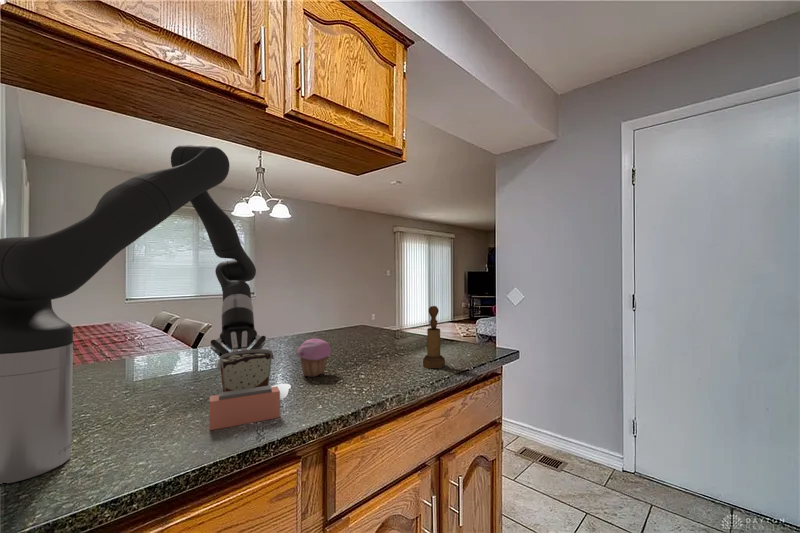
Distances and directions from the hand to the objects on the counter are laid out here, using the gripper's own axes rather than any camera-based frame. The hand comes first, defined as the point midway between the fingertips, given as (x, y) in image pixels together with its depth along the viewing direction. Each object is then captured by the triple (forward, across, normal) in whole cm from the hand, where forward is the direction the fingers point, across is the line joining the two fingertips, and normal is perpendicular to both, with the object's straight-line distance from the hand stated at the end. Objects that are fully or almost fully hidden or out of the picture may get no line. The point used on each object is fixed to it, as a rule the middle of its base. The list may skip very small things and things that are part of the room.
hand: (240, 374), depth 80 cm
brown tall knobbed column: (+4, +53, +4) cm, 53 cm away
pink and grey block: (+15, 0, -8) cm, 17 cm away
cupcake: (-2, +19, +9) cm, 21 cm away
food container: (+5, 0, +2) cm, 5 cm away
